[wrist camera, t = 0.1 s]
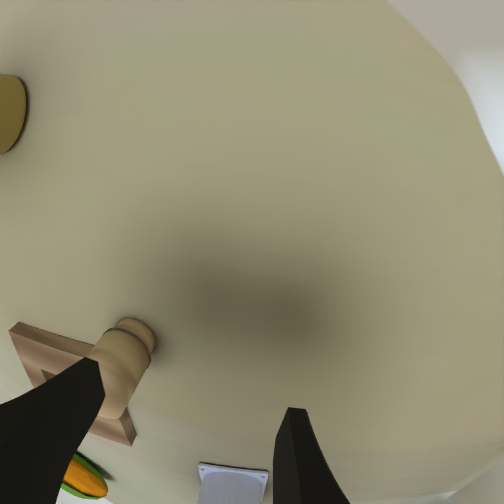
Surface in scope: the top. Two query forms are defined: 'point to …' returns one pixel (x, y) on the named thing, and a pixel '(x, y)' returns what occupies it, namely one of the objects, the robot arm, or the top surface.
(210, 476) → the robot arm
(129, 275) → the top surface
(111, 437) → the board
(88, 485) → the corn
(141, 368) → the peg
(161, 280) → the top surface
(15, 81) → the paper tube
